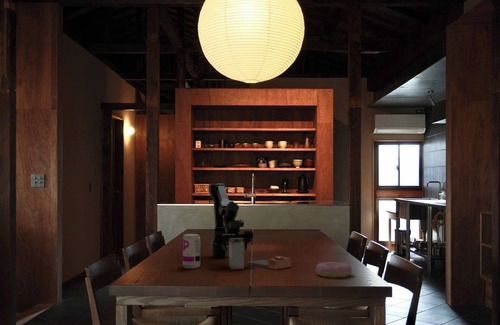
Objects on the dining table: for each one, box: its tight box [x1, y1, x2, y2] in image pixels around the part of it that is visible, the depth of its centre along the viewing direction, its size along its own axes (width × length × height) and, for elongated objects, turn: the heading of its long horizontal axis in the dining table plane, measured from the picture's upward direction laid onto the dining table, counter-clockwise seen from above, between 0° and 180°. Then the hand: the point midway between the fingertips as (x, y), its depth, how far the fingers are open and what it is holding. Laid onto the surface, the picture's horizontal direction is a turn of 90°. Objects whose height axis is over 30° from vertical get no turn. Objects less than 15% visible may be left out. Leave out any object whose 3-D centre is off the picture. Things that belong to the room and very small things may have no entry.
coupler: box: [247, 255, 292, 271], centre depth 239 cm, size 19×10×5 cm, turn 43°
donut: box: [315, 261, 352, 279], centre depth 217 cm, size 16×15×5 cm
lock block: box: [228, 239, 245, 270], centre depth 233 cm, size 6×6×13 cm
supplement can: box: [182, 233, 201, 269], centre depth 236 cm, size 8×8×15 cm
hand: (236, 251), depth 233 cm, fingers open, 9 cm apart
